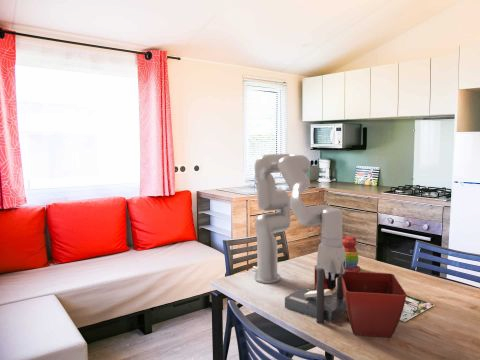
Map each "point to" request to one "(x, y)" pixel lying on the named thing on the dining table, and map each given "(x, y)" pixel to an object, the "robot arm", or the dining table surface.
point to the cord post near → (320, 296)
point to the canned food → (316, 280)
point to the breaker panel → (315, 304)
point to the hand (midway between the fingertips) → (331, 288)
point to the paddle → (314, 293)
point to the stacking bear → (350, 253)
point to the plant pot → (373, 302)
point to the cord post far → (339, 288)
